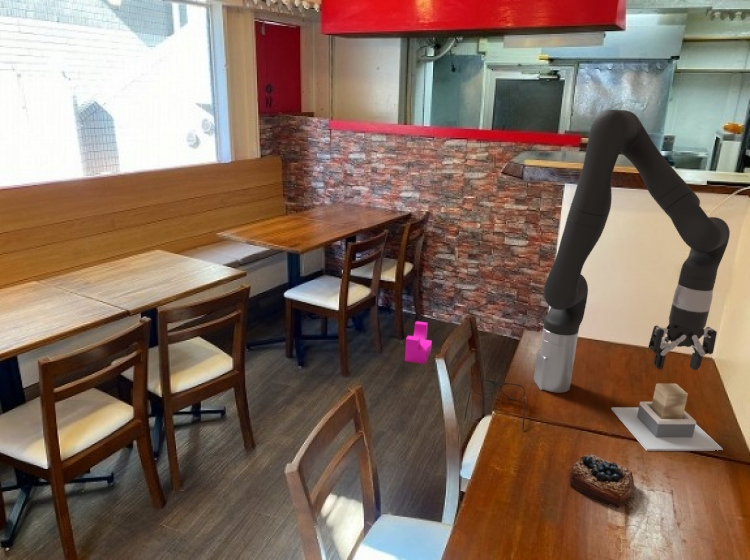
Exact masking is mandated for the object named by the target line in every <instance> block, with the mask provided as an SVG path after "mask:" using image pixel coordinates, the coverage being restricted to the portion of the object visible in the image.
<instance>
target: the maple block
mask: <svg viewBox="0 0 750 560" xmlns="http://www.w3.org/2000/svg"><path fill="white" fill-rule="evenodd" d="M688 395H689V393H688V392H686V391H685V390H684V389H683V388H682V387H681V386H679V384H677V383H656V384H655V388H654V393H653V398H652V401H651V402H652V406H651V409H652V410H653V411H654V412H655V413H656V414H657V415H658V416H659V417H660V418H661V419H682V418H683V414H684V411H685V409H686V405H687V401H688Z"/></svg>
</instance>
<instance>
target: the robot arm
mask: <svg viewBox="0 0 750 560" xmlns="http://www.w3.org/2000/svg"><path fill="white" fill-rule="evenodd" d="M588 133H589V134H588V138H587V145H586V149H585V155H584V161H583V164H582V169H581V172H580V175H579V178H578V180H577V184H576V185H577V186H576V188H575V191H574V195H573V197H572V201H571V204H570V206H569V211H568V214H567V218H566V222H565V224H564V225H565V226H564V229H563V232H562V235H561V239H560V242H559V247H558V250H557V254H556V256H555V259H554V262H553V264H552V267H551V269H550V271H549V273H548V275H547V279H546V280H545V283H544V286H543V297H544V299H545V302H546V303H547V305H548V306H549V307H550V308H549V310H548V312H547V314H546V315H545V317H544V319H543V325H542V335H541V341H540V342H541V343H540V349H537V352H536V359H535V367H534V368H535V369H534V376H533V381H534V382H535V384H536V386H537V387H538V388H539V390H541V391H547V392H550V393H556V394H557V393H558V394H559V393H566V392H568V391H569V390H570V388H571V383H572V377H573V376H572V375H573V371H574V370H573V369H574V362H575V357H576V350H577V344H578V343H577V342H578V336H579V331H580V327H581V324H582V323H583V319H584V317H585V311H586V306H587V300H588V294H589V286H588V282H587V280H586V278H585V277H584V275H582V270H583V268H584V265H585V263H586V261H587V259H588V257H590V256H589V255H590V254H591V252H592V251H593V249H594V248H595V246H596V245H597V243H598V241H600V238H601V237H602V234H603V231H604V229H605V226H606V223H607V220H608V219H609V215H610V213H611V207H612V200H613V197H612V193H613V192H612V179H613V172H614V169H615V166H616V164H617V161H618V158H619V156H620V153H621V154H622V155H623V156H624V157H625V158H626V159H627V160H628V161H629V163H631V164H632V165H633V166H634V168H635V169H636V170H637V172H638V173H639V176H640V177H641V179H642V181H643V184H644V186H645V188H646V190H647V191H648V192H649V194H650V197H651V198H652V199H654V201H655V202H656V203H657V205H658V206H659V207H660V209H662V211H663V212H664V213H665V214H666V215H667V216H668V218H670V220H671V222H672V224H673V225H674V227H675V229H676V231H677V232H678V234H679V236H680V238H681V239H682V240H683V242H684V243H685V244H686V245H687V246H688V247H689V248H690V249H689V254H688V257H687V258H686V259H685V261H683V263H682V266H681V269H680V272H679V277H678V281H677V282H678V283H677V285H676V288H675V290H674V295H673V298H672V303H671V307H670V311H669V317H668V325H667V326H666V327H660V326H659V325H654V326H653V329H652V333H651V335H650V338H649V342H648V349H650V350H651V352H653V353H654V360H653V365H654V366H655V367H656V369H658V370H663V369H664V365H665V360H666V354H668V353H669V352H670V351H672V350H674V349H675V348H676V347H678V348H679V347H680V348H681V347H687V348H692V350H693V351H694V352H692V353H691V357H690V363H689V368H690V369H692V370H693V371H698V370H699V368H700V367H701V365H702V361H703V358H704V356H705V355H707V354H708V355H712V354H714V349H715V344H716V340H717V339H716V338H717V334H718V331H717V330H715V329H714V328H712V327H710V326H707V322H708V317H709V313H710V309H711V305H712V300H713V294H714V293H713V292H714V287H715V285H716V279H717V276H718V275H717V274H718V270H719V266H720V264H721V262H722V260H723V257H724V254H725V252H726V251H727V247H728V244H729V239H730V235H731V234H730V233H731V231H730V227H729V225H728V223H727V222H726V221H725V220H723V219H722V218H720V217H716V216H710V217H709V216H708V214H707V213H706V212H705V211H704V209H703V208H702V207H701V200H700V198H699V197H698V196H699V195H697V194H696V192H694V190H693V189H692V188H691V187H690V186H689V185H688V183H687V182H686V181H685V180H684V179H683V178H682V177H681V176H680V175H679V174H678V173H677V171H676V170H675V169H674V167H672V166H671V164H670V163H669V162H668V161H667V160H666V159H665V157H664V156H663V154H662V153H661V152H660V150H659V149H658V147H657V146H656V144H655V143H654V141H653V140H652V139H651V137H650V135H649V133H648V132H647V130H646V128H645V126H644V125H643V123H642V122H641V120H640V119H639V117H638V116H637V115H636V114H635V113H634V112H632V111H630V110H627V109H608V110H607V109H606V110H604V111H603V112H601V113H600V114H598V115H597V116H596V118H595V119H594V120H593V122H592V124H591V126H590V131H589V132H588ZM702 337H703V338H702ZM701 338H702V339H703V340H702V343H701V342H700V339H701ZM669 342H670V343H669Z"/></svg>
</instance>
